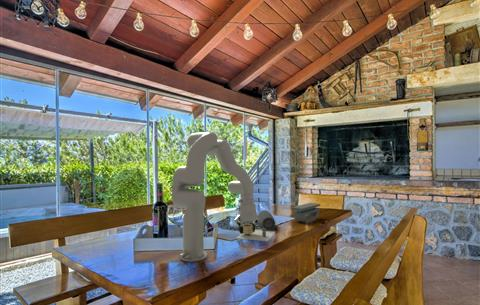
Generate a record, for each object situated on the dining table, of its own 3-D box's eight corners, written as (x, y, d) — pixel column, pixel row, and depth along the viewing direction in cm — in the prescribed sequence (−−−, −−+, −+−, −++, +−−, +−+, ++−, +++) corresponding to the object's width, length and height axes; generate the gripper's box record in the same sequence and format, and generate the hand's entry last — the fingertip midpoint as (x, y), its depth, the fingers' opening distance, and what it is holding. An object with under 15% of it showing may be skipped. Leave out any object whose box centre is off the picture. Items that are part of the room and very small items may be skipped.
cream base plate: (267, 243, 153) (267, 232, 153) (235, 240, 159) (235, 229, 160) (275, 234, 172) (275, 224, 172) (247, 231, 178) (247, 221, 178)
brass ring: (255, 233, 164) (255, 226, 164) (244, 234, 161) (244, 227, 161) (249, 230, 170) (249, 223, 170) (239, 231, 167) (239, 224, 167)
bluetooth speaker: (257, 223, 198) (257, 209, 198) (270, 223, 198) (270, 209, 198) (261, 233, 175) (260, 216, 175) (276, 232, 175) (276, 216, 175)
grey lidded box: (310, 217, 218) (310, 202, 218) (320, 218, 212) (320, 203, 212) (291, 222, 200) (291, 207, 200) (301, 224, 194) (301, 208, 194)
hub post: (248, 235, 164) (248, 226, 164) (244, 235, 165) (244, 226, 165) (250, 234, 166) (250, 225, 166) (245, 234, 167) (245, 225, 167)
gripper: (236, 203, 159) (236, 236, 159) (263, 201, 166) (263, 232, 166) (230, 201, 165) (230, 232, 165) (257, 199, 173) (257, 229, 173)
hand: (247, 232), depth 166 cm, fingers closed on brass ring, 6 cm apart
